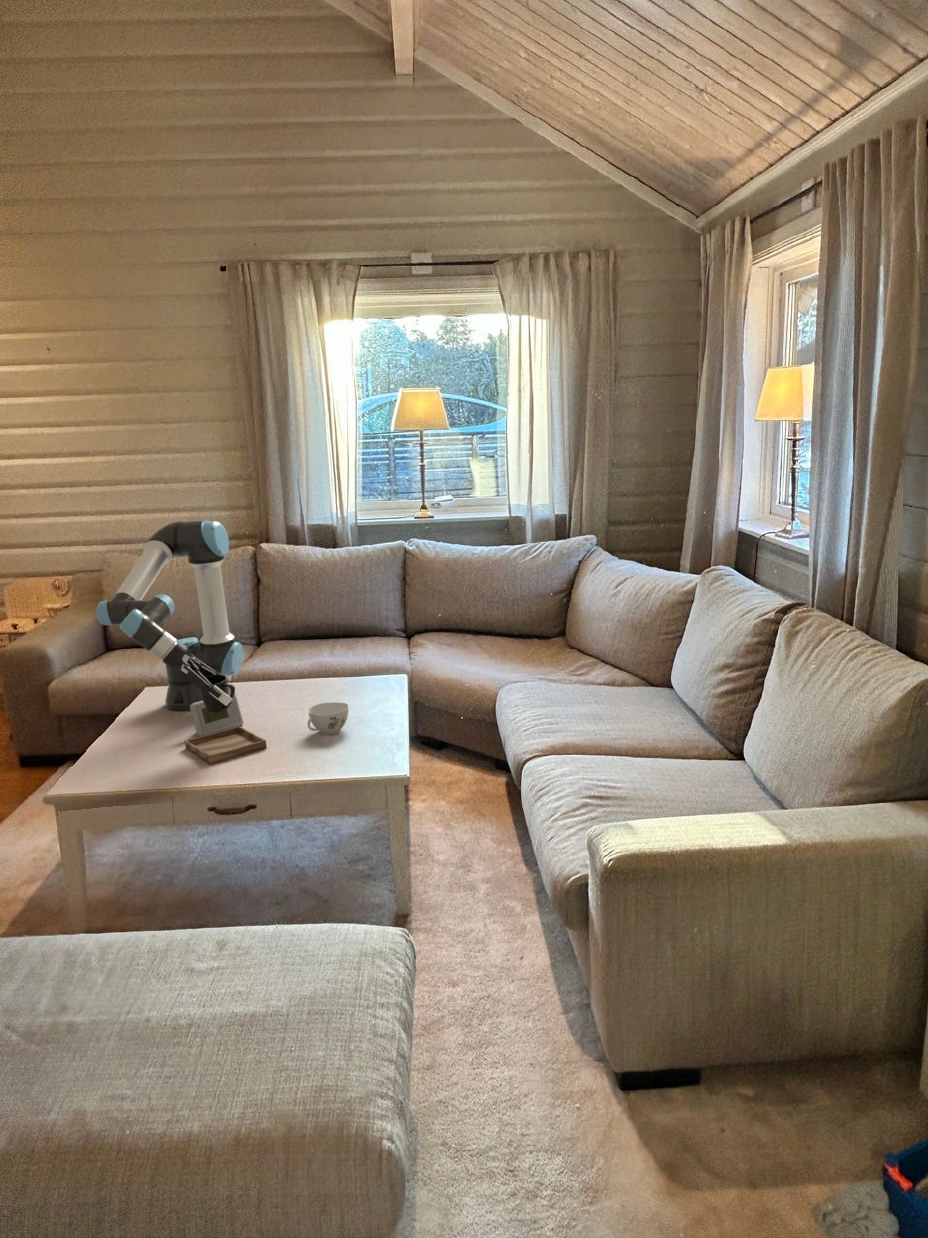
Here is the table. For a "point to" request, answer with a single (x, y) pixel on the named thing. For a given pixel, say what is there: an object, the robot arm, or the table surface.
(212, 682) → the mug
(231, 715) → the digital clock
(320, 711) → the teacup
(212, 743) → the walnut tray
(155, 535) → the robot arm
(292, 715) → the table surface
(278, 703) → the table surface
